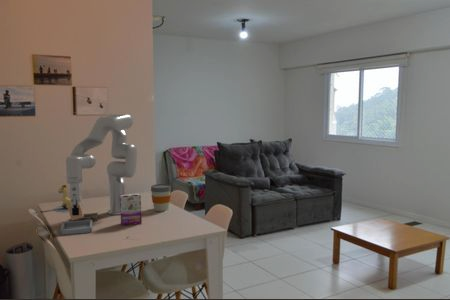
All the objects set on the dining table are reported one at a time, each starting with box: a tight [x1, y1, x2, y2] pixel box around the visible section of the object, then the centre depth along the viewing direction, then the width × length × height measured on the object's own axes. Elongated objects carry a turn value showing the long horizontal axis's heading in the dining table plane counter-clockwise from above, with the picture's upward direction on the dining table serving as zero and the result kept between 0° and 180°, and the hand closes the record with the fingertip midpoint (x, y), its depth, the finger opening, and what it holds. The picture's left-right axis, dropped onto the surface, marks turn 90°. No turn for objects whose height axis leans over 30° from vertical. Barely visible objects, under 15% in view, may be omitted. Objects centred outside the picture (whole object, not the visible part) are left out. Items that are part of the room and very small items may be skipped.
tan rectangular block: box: [67, 202, 84, 221], centre depth 199 cm, size 6×3×7 cm, turn 107°
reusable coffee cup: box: [150, 183, 172, 212], centre depth 239 cm, size 13×13×15 cm
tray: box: [59, 220, 94, 236], centre depth 200 cm, size 15×15×2 cm
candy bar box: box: [120, 192, 143, 226], centre depth 210 cm, size 11×5×16 cm, turn 105°
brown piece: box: [70, 212, 99, 222], centre depth 218 cm, size 14×10×2 cm
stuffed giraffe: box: [49, 184, 72, 213], centre depth 242 cm, size 16×18×16 cm
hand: (75, 214), depth 199 cm, fingers closed on tan rectangular block, 2 cm apart
